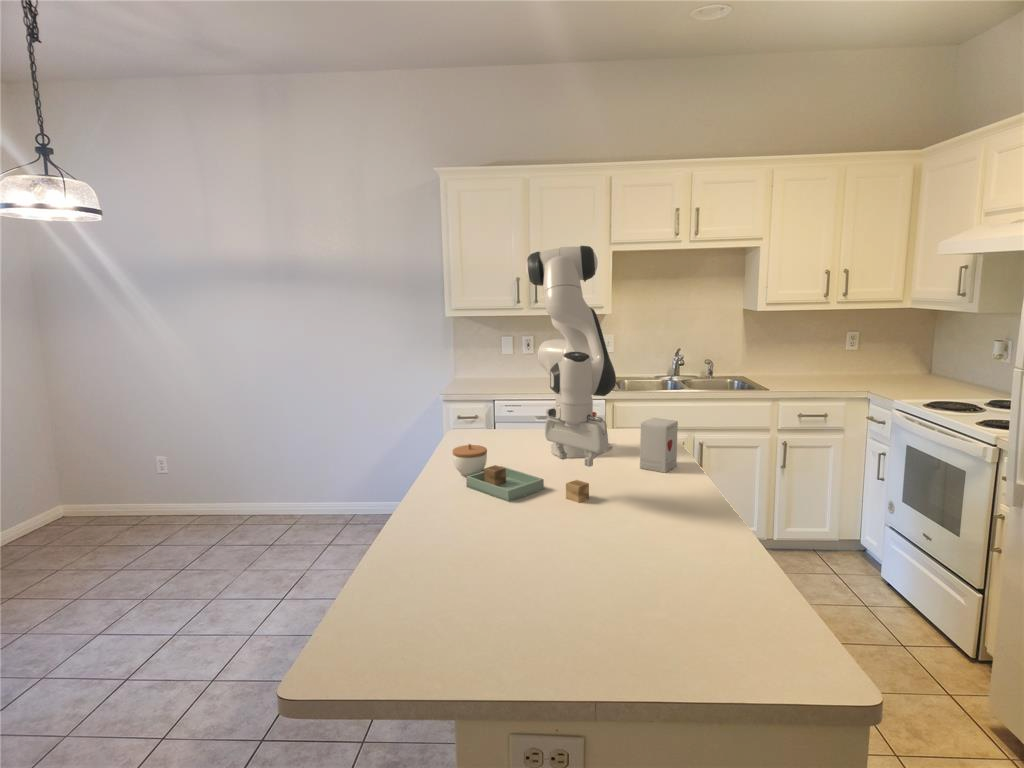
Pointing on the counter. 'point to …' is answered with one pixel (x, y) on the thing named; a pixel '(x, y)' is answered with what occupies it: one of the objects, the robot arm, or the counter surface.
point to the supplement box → (658, 444)
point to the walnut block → (495, 475)
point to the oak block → (577, 491)
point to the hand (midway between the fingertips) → (575, 462)
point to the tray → (507, 485)
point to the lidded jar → (469, 459)
